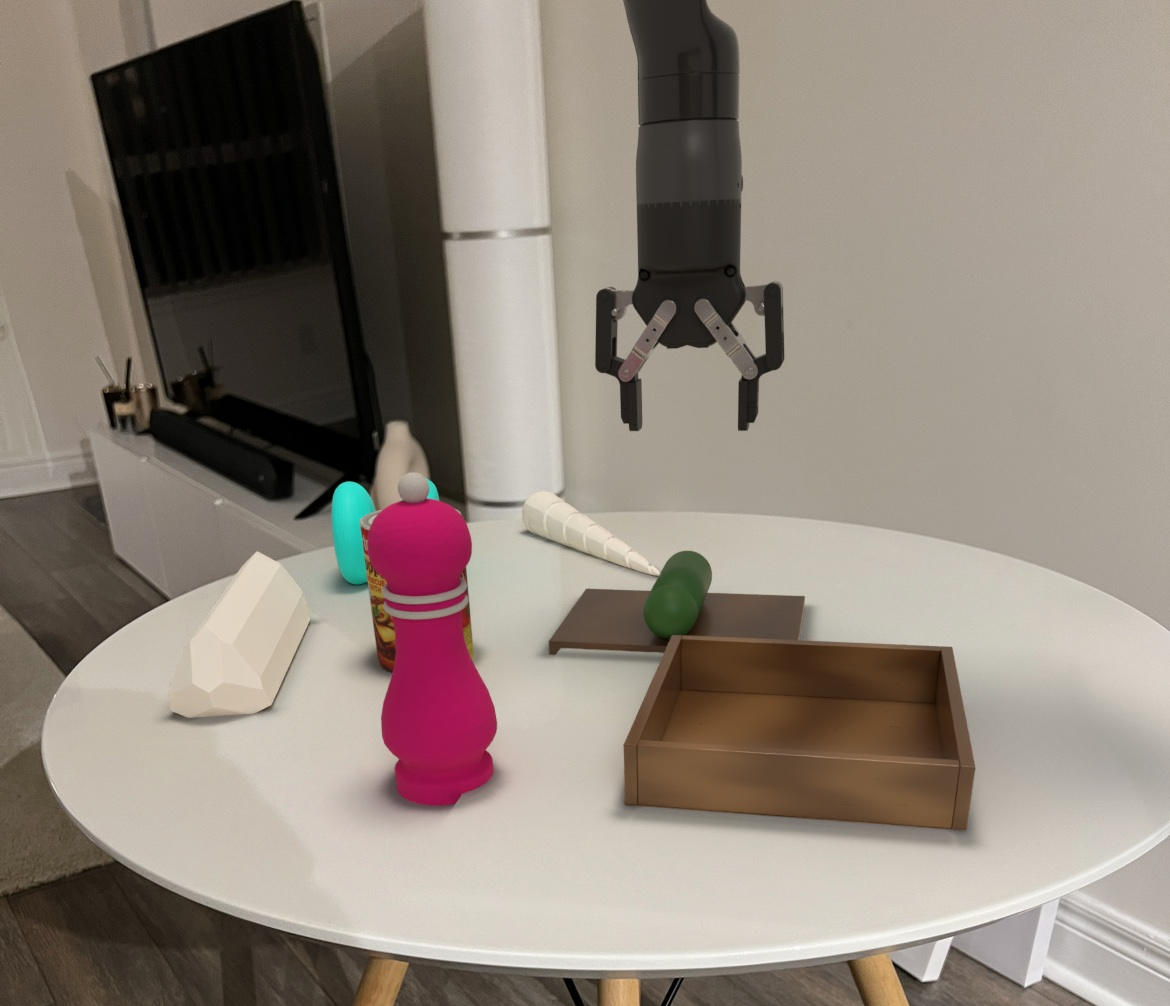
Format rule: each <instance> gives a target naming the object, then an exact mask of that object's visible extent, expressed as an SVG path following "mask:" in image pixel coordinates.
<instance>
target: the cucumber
mask: <svg viewBox="0 0 1170 1006" xmlns="http://www.w3.org/2000/svg"><path fill="white" fill-rule="evenodd" d="M712 580H713V571H712V567H711V564H710V563H709V561H708V559H707V558H706V557H705V556H704V555H702V554H701V553H700V552H697V551H695V550H680V551H678V552H675V553H674V554H672V555H671V556H670V557H669V558H668V559H667V561H666V562H665V564H664V565H663V567H662V569H661V571H660V575H659V576H657V578H656V580H655V582H654V584H653V585H652V588H651V590H649V591H650V593H649V595H648V597H647V599H646V601H645V604H644V609H643V615H644V619H645V622H646V624H647V626H648V627H649V629H650V630H651V631H652V632H653V633H654V634H656V635H657V636H660V637H662V638H666V639H670V638H671V636H672V635H681V636H683V635H685V634H687V633H688V632H689V631H690V630H691V629H692V627H693V626H694V624H695V622H696V620H697V617H698V615H699V612H700V610H701V607H702V605H703V602H704V600H705V597H706V595H707V593H709V591H710V588H711V584H712Z"/></svg>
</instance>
